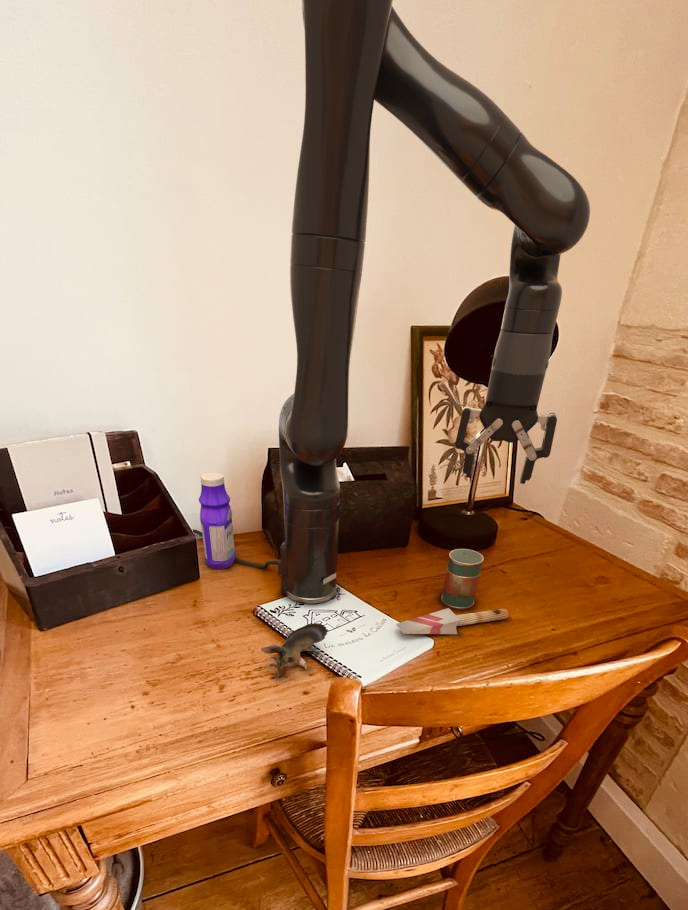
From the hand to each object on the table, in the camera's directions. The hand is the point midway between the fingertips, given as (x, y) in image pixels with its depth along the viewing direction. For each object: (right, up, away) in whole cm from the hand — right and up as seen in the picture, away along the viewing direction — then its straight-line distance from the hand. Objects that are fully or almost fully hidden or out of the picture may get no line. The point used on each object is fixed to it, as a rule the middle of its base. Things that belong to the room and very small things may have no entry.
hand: (494, 479), depth 85 cm
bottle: (-48, -11, +19) cm, 53 cm away
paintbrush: (-6, -24, +3) cm, 25 cm away
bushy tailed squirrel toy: (-32, -30, -6) cm, 44 cm away
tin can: (-4, -19, +9) cm, 22 cm away
